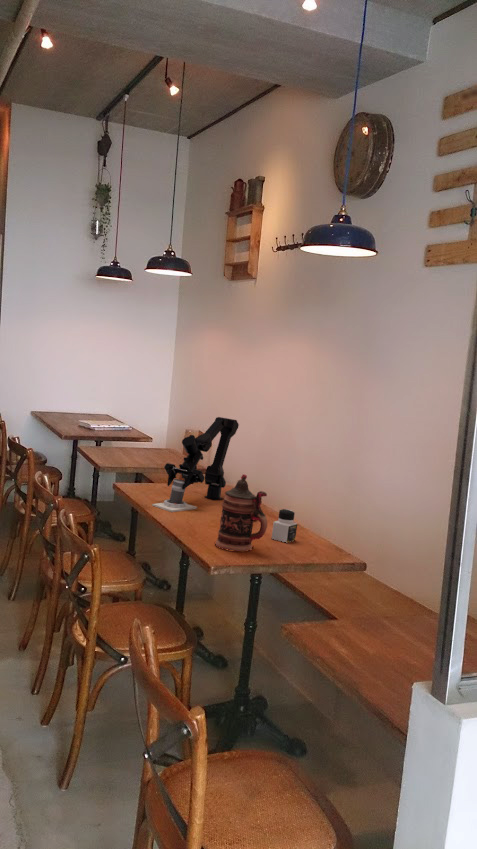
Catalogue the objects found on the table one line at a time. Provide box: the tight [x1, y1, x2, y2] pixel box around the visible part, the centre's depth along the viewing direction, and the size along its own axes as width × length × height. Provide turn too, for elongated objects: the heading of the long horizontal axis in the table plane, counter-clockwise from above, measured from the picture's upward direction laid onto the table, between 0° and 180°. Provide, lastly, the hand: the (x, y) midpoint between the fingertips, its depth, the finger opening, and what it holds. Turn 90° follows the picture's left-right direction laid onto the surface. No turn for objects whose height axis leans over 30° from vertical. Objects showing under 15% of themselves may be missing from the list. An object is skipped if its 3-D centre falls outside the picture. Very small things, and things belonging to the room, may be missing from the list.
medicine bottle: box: [271, 508, 298, 544], centre depth 292 cm, size 7×7×12 cm
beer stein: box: [215, 474, 268, 552], centre depth 271 cm, size 17×28×18 cm
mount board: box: [151, 498, 198, 513], centre depth 325 cm, size 16×12×3 cm
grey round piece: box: [169, 478, 186, 504], centre depth 325 cm, size 6×6×11 cm
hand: (175, 487), depth 323 cm, fingers open, 7 cm apart
